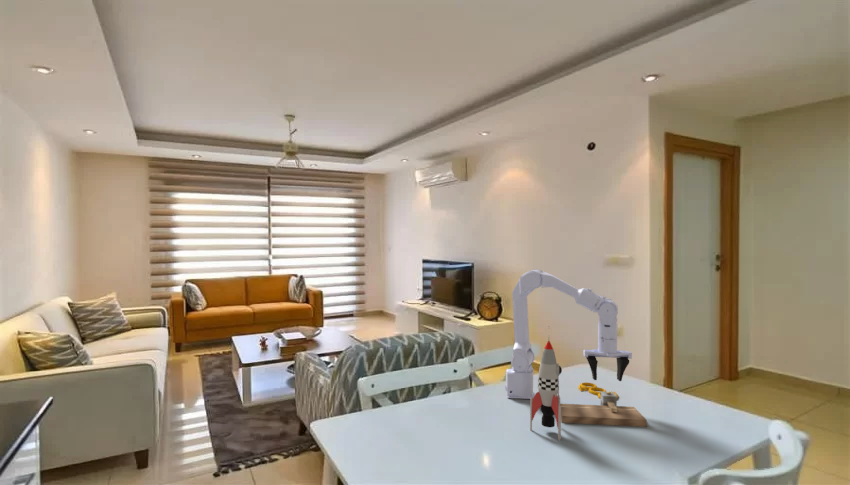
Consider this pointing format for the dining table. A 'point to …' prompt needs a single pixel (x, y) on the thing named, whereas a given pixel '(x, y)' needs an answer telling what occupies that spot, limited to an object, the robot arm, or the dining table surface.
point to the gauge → (609, 400)
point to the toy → (547, 391)
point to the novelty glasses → (584, 387)
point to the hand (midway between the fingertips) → (606, 379)
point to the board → (601, 415)
